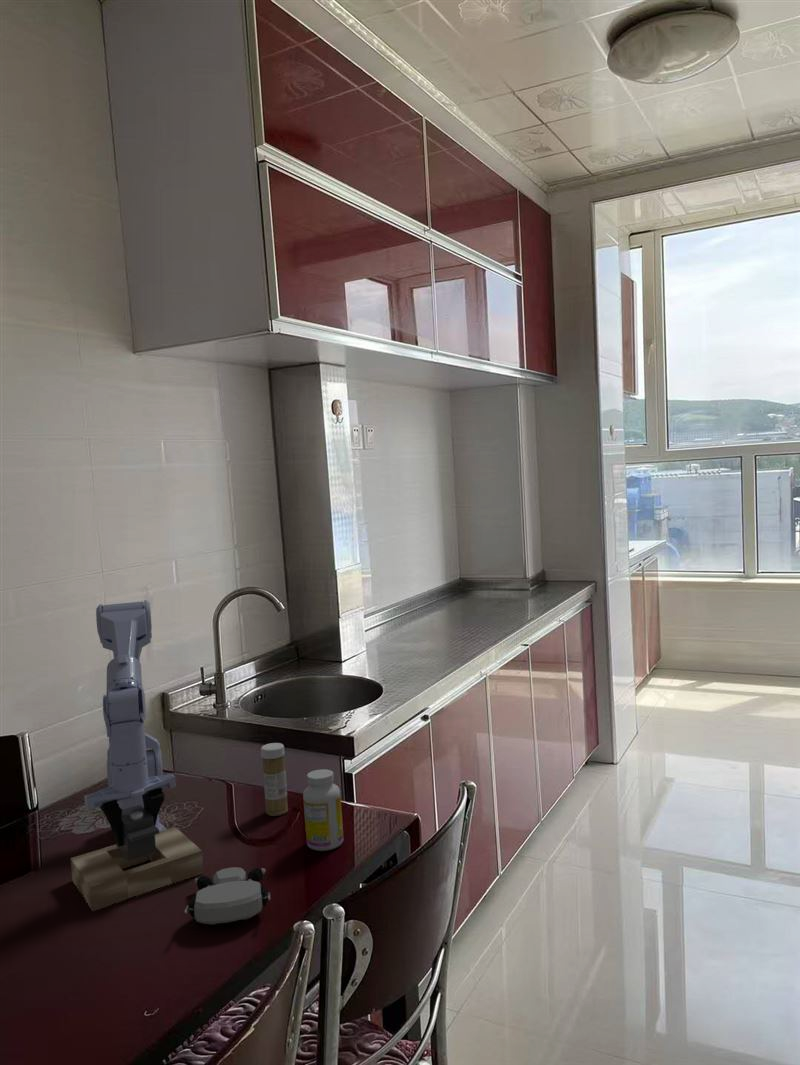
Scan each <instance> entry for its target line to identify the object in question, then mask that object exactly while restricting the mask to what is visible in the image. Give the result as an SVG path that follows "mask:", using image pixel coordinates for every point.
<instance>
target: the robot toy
mask: <svg viewBox="0 0 800 1065" xmlns="http://www.w3.org/2000/svg"><path fill="white" fill-rule="evenodd" d="M265 873H266V868H261V867H255V868H253V869H251V870H250V871H249V872H248V873H247V872H246V871H245V870H244V868H242V867H238V866H237V867H235V866H233V867H227V868H226V867H225V868H222V869H220V870H218V871H216V872H215V874H214V875H213V876H212V879H211V878H210V877H209V876H207V875H201V876H200V877H196V878H195V879H194V881H193V882H194V884H195V885H196V886H197V889H198V891H196V895H194V896H192V898H191V900H190V901H189V902H188V905H186V906H185V907H186V908H185V909H184V914H187V912H188V913H189V915H190V917H192V919H195V921H196V922H197V923H201V924H205V925H210V926H211V925H212V926H213V925H214V926H215V925H217V924H224V923H231V922H236V921H239V920H245V921H246V920H248V919H251V918H253V917H254V916H256V915H257V914H259V913H261V912H262V909H263V908H265V907H266V905H267V903H268V901H271V892H268V889H267V888H266V887H265V886H264V885H262V884H261V883H260V882H261V881H262V880H263V877H264V876H263V875H265ZM212 880H213V881H212Z"/></svg>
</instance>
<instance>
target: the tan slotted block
mask: <svg viewBox="0 0 800 1065" xmlns="http://www.w3.org/2000/svg"><path fill="white" fill-rule="evenodd" d="M155 844H156V852H155V853H152V854H149V855H146V856H143V857H139V858H136V859H133V860H130V861H128V859H127V858H126V857H125V856H124V855H123V854H122V853H121V851H120V850H119V849H118V848H117V847H116V844H113V845H110V846H107V847H106V846H105V847H103V848H100V849H96V850H93V851H90V852H86V853H83V854H80V855H77V856H73V857H70V867H71V870H70V871H71V880H72V882H73V884H74V885H75V887H76V886H77V887H76V888H77V890H78V889H79V890H78V891H79V893H80V892H81V893H80V894H82V895H83V896H82V895H81V896H82V897H84V898H85V899H84V898H83V899H84V900H86V901H85V903H86V904H87V903H88V904H87V906H89V908H90V910H91V911H92V912H96V911H98V910H101V909H104V908H107V907H110V906H113V905H115V904H114V903H116V904H119V903H121V901H122V902H124V901H123V900H125V901H127V900H126V899H128V898H131V897H133V896H136V897H138V896H137V895H139V896H141V895H140V894H142V893H145V894H147V893H146V892H148V893H151V892H153V891H152V890H154V891H156V890H155V889H157V888H160V887H163V886H165V885H168V886H170V885H169V884H171V885H173V884H172V883H174V884H177V883H180V882H183V881H186V880H189V879H190V878H191V877H192V878H193V877H194V878H195V877H197V876H200V875H204V862H203V860H204V859H203V850H201V848H200V847H199V846H197V845H196V844H195V843H194V842H193V841H192V840H191V839H190V838H189V837H187V835H185V834H184V833H183V832H182V831H181V830H180V829H179V828H177V827H176V826H172V827H169V828H166V829H165V830H162V831H159V834H156V835H155ZM147 860H150V861H151V862H150V861H149V863H146V862H145V861H147ZM142 862H143V863H145V864H143V863H142ZM147 862H148V861H147ZM138 863H140V864H142V865H139V864H138ZM135 864H137V865H139V866H136V865H135ZM132 865H134V866H136V867H133V866H132ZM130 866H131V868H130ZM127 867H128V868H130V869H127ZM132 867H133V868H132ZM124 868H125V869H127V870H125V869H124ZM192 878H191V879H192ZM185 879H186V880H185ZM176 882H177V883H176ZM165 887H166V886H165ZM163 888H164V887H163ZM160 889H161V888H160ZM157 890H158V889H157ZM150 891H151V892H150ZM142 895H143V894H142ZM131 899H132V898H131ZM128 900H129V899H128ZM118 902H119V903H118ZM112 904H113V905H112Z"/></svg>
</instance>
